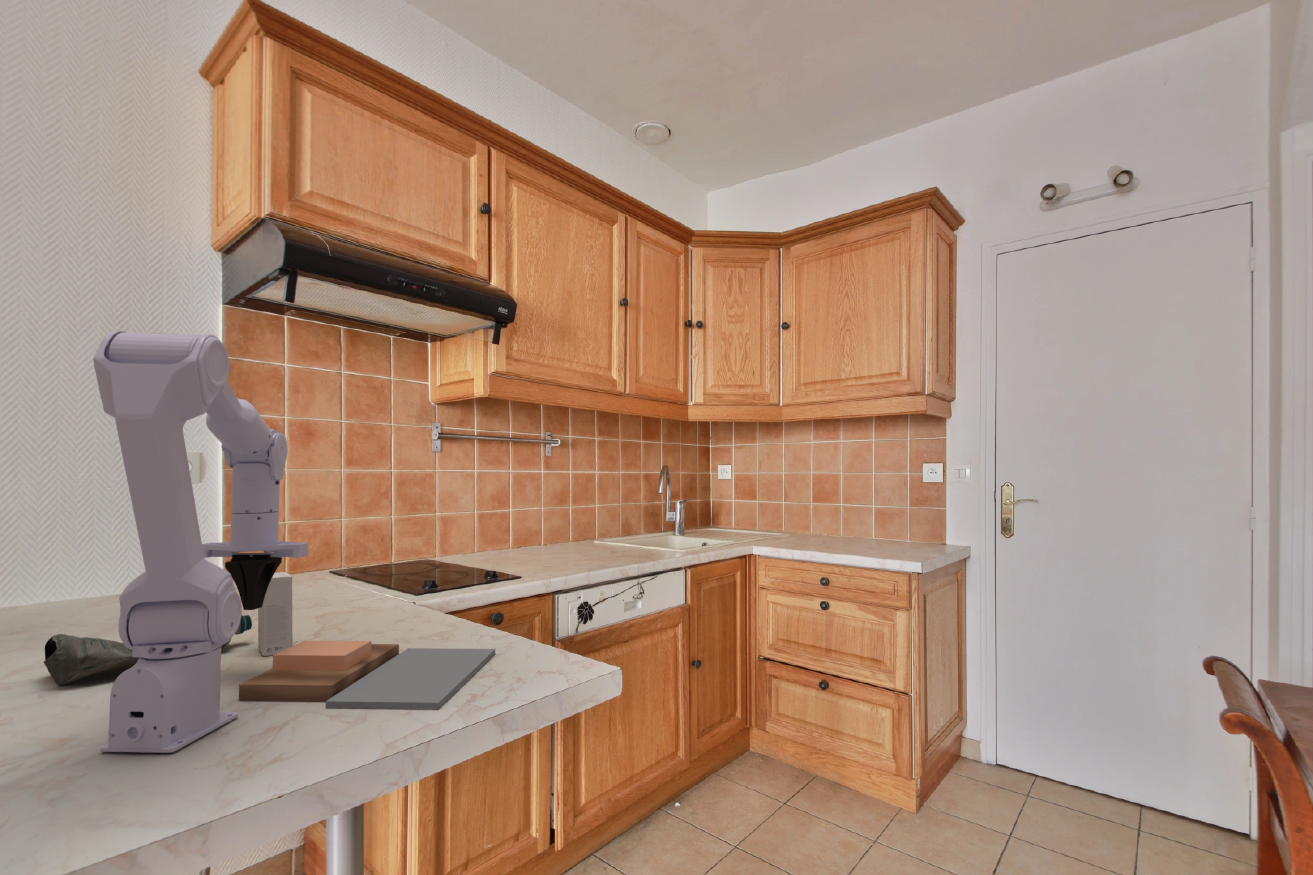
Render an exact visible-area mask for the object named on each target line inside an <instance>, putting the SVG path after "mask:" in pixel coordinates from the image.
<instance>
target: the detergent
mask: <svg viewBox="0 0 1313 875" xmlns="http://www.w3.org/2000/svg"><path fill="white" fill-rule="evenodd" d="M252 621H253V620H252V617H251V616H250V615H249V614H245V615H242V614H241V620H240V624H239V627H238V629H237V631H236V633H235V635H242V634H243V633H245V632H247V631H249V630H251V629H252V626H253V622H252ZM232 639H233V637H232V638H231V639H230V640H229V641H228V642H227V643H225V644H223V645H222V646H221V651H223V650H224V649H226V648H227V647H228V646H229V645H230V643H231V641H232ZM132 654H133V650H132V649H128V648H127V647H126V646H125V645H124V644H123V642H120V641H117V640H116V641H115V640H110V639H104V638H98V637H87V636H86V637H79V636H76V635H69V634H65V633H58V634H55V635H52V636H51V637H50V638H48V640H47V641H46V642H45V645H44V661H43V663H44V665H45V667H46V669H47V672H48V673H49V674H50V676H51V677H52V680H54V682H55V683H56V685H57V686H58V687H61V686H64V685H66V684H67V683H69V682H70V681H72V680H73V679H74V678H76V677H77V676H78V675H80V674H83V673H86V672H88V671H91V670H94V669H97V668H100V667H103V666H107V665H109V664H113V663H116V662H119V661H120V662H121V661H124V660H130V659H139V658H140V657H132Z"/></svg>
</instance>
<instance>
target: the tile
mask: <svg viewBox="0 0 1313 875" xmlns="http://www.w3.org/2000/svg"><path fill="white" fill-rule="evenodd" d="M371 644H372V640H302V641H301V642H299V643H295V644H294V645H293V646H292V647H290V648H287V649H285V650H283V651H281V652H279V653H276V654H274V655H272V668H271V669H272V670H308V671H345V670H347V669H348V668H350V667H352V666H353V665H355V664H357V663H359V662H360V661H362V660H364V659H365V658H367V657H369V656H370V655H371Z"/></svg>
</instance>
